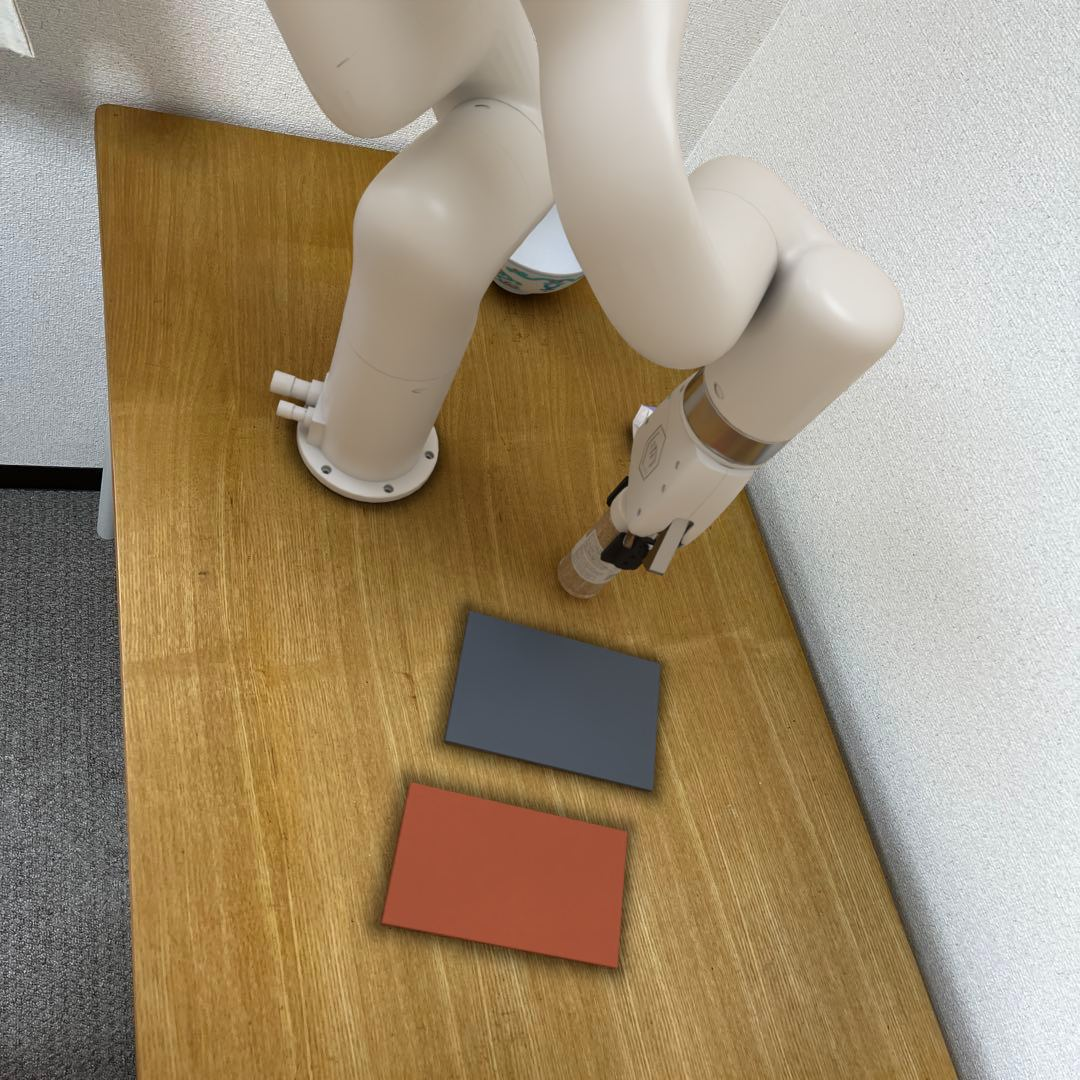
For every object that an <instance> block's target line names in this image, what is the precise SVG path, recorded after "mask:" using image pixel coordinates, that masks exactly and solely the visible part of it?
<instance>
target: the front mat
mask: <svg viewBox="0 0 1080 1080" xmlns="http://www.w3.org/2000/svg"><path fill="white" fill-rule="evenodd" d="M402 813H403V814H402V819H401V822H400V829H399V834H398V838H397V843H396V848H395V852H394V856H393V863H392V866H391V871H390V877H389V882H388V887H387V891H386V896H385V901H384V906H383V911H382V916H381V920H380V924H381V925H385V926H390V927H394V928H400V929H406V930H410V931H416V932H422V933H426V934H431V935H437V936H443V937H447V938H453V939H458V940H463V941H468V942H473V943H478V944H484V945H488V946H489V945H490V946H495V947H500V948H504V949H505V948H506V949H510V950H516V951H521V952H526V953H532V954H536V955H542V956H546V957H553V958H557V959H563V960H567V961H568V960H569V961H573V962H577V963H578V962H579V963H583V964H584V963H585V964H590V965H594V966H600V967H604V968H611V969H617V968H618V966H619V955H620V954H619V953H620V952H619V951H620V941H621V940H620V939H621V927H622V926H621V925H622V913H623V912H622V911H623V898H624V884H625V874H626V873H625V871H626V860H627V859H626V857H627V845H628V844H627V843H628V831H626V830H621V829H617V828H612V827H609V826H604V825H601V824H600V825H599V824H595V823H590V822H587V821H582V820H579V819H573V818H570V817H564V816H560V815H556V814H551V813H549V812H548V813H547V812H543V811H539V810H534V809H530V808H525V807H522V806H517V805H513V804H509V803H504V802H499V801H495V800H492V799H487V798H482V797H478V796H473V795H469V794H465V793H460V792H456V791H453V790H452V791H451V790H447V789H442V788H438V787H434V786H430V785H426V784H422V783H417V782H410V783H409V784H408V789H407V795H406V798H405V803H404V809H403V812H402Z"/></svg>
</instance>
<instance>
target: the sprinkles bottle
mask: <svg viewBox="0 0 1080 1080" xmlns="http://www.w3.org/2000/svg"><path fill="white" fill-rule="evenodd" d="M627 491H628V486H627V487H626V488H624V489H623V490H622V491H621V492H620V493H619V494H618V495H617V497H616V498H615V499H614V500H613V502H612V504H611V507H608V509H607V510H606V511H605V512H604V513H603V514H602V515H601V516H600V517H599V519H598V520H597V521H596V522H594V524H593V525H592V526H591V528H589V529H588V530H587V531H586V532H585V533H584V534H583V536H582V537H580V539H579V540H578V541H577V542H576V544H574V546H573V548H572V549H571V550H570V552H568V554H567V555H565V556H564V557H562V559H561V560H560V561H559V563H558V566H557V579H558V582H559V583H560V586H561V587H562V588H563V589H564V591H565V592H566V593H568V594H569V595H570V596H572V597H575V598H578V599H584V600H585V599H587V600H588V599H590V598H593V597H595V596H596V595H598V594H599V593H600V591H601V590H602V588H604V586H605V585H606V584H607V583H608V582H610V581H611V580H613V579H614V578H615V576H617V575H618V574H619V573H620V572H621V571H622V569H619V568H616V567H615V566H614V565H613V564H610V563H607V562H604V561H602V560H601V559H600V557H601V552H602V551H603V550H604V549H605V548H606V547H607V546H608V545H609V544H610V543H611V542H612V541H613V540H614V539H615V538H616V537H617V536H618V535H619V534H620V532H626V533H627V532H628V530H629V529H628V527H627V523H626V503H627ZM656 536H657V533H655V534H652V535H649V536H647V537H650V538H652V539H653V540H654V538H655V537H656Z"/></svg>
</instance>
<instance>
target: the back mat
mask: <svg viewBox="0 0 1080 1080" xmlns="http://www.w3.org/2000/svg"><path fill="white" fill-rule="evenodd" d="M661 664H662V663H658V662H655V661H653V660H647V659H644V658H640V657H637V656H634V655H630V654H628V653H627V654H626V653H623V652H619V651H615V650H612V649H609V648H604V647H601V646H598V645H595V644H591V643H587V642H583V641H579V640H576V639H573V638H569V637H566V636H562V635H558V634H555V633H551V632H547V631H545V630H540V629H537V628H534V627H530V626H526V625H523V624H519V623H516V622H512V621H509V620H506V619H505V620H504V619H501V618H498V617H494V616H491V615H487V614H483V613H479V612H477V611H473V610H469V612H468V613H467V617H466V623H465V630H464V634H463V639H462V645H461V650H460V654H459V660H458V664H457V670H456V676H455V681H454V686H453V691H452V695H451V696H452V697H451V701H450V707H449V713H448V717H447V723H446V729H445V733H444V738H443V742H444V743H445V744H450V745H454V746H457V747H462V748H465V749H470V750H474V751H478V752H483V753H486V754H490V755H494V756H498V757H503V758H507V759H510V760H515V761H520V762H524V763H528V764H531V765H535V766H541V767H544V768H549V769H552V770H557V771H560V772H565V773H569V774H573V775H577V776H581V777H585V778H590V779H594V780H598V781H601V782H606V783H610V784H614V785H617V786H623V787H627V788H631V789H634V790H639V791H643V792H647V793H651V792H653V791H654V779H655V764H656V763H655V762H656V751H657V749H656V748H657V747H656V746H657V734H658V733H657V732H658V716H659V715H658V714H659V701H660V700H659V697H660V682H661V667H662V666H661Z"/></svg>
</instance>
